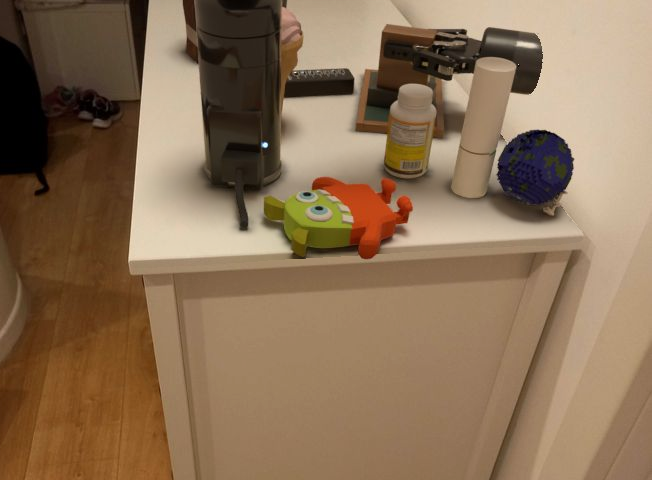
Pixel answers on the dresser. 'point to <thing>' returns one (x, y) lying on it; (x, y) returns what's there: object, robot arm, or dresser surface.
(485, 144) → the tube
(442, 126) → the chalkboard
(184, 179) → the dresser surface
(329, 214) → the toy
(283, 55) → the ice cream cone
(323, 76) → the multiport hub
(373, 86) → the duster
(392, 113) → the supplement bottle
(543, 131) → the globe
